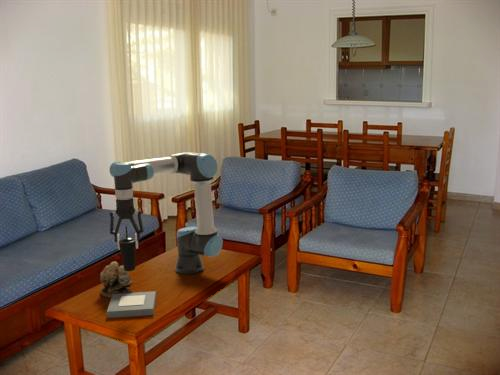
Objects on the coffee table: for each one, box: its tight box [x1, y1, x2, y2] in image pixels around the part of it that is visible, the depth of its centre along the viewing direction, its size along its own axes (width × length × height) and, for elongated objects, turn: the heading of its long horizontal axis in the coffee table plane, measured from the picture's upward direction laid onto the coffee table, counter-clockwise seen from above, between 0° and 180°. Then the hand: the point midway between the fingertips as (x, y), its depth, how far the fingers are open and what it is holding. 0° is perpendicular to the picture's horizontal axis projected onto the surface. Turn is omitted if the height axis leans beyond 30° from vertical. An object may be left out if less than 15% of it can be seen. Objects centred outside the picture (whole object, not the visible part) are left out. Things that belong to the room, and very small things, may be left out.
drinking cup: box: [119, 225, 136, 272], centre depth 246 cm, size 8×8×20 cm
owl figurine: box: [99, 261, 134, 300], centre depth 266 cm, size 18×12×17 cm, turn 71°
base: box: [106, 290, 157, 319], centre depth 251 cm, size 20×20×3 cm
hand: (128, 248), depth 246 cm, fingers closed on drinking cup, 7 cm apart
